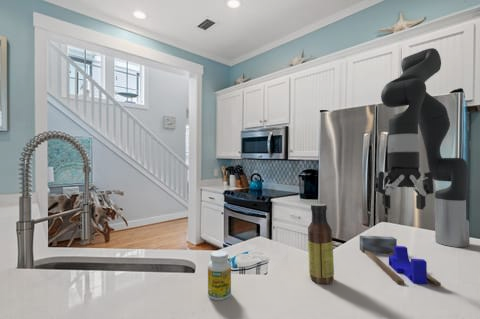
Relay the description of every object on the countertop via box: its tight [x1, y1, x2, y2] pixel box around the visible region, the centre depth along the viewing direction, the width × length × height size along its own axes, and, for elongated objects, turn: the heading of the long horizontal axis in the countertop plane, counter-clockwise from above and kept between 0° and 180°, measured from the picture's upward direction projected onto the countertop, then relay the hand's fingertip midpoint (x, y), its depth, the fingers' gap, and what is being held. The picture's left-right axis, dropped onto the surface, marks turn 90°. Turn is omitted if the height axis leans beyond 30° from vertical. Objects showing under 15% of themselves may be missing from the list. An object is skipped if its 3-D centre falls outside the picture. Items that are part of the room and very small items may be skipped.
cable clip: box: [388, 245, 428, 286], centre depth 70 cm, size 12×4×6 cm, turn 169°
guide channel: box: [359, 235, 442, 288], centre depth 76 cm, size 11×26×5 cm, turn 173°
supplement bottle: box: [207, 250, 232, 301], centre depth 58 cm, size 5×5×10 cm
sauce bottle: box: [307, 202, 335, 285], centre depth 66 cm, size 6×6×20 cm
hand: (403, 208), depth 70 cm, fingers open, 8 cm apart
